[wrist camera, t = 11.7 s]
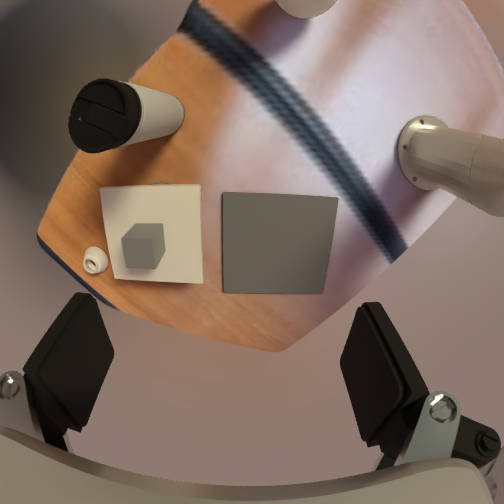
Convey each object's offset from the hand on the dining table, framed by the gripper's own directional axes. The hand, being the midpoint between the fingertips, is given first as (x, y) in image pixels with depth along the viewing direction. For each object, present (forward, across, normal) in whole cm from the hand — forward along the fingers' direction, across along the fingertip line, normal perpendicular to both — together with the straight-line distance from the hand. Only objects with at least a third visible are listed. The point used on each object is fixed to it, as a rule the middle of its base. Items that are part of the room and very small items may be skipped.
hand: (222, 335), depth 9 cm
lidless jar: (+33, +26, +15) cm, 44 cm away
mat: (+32, -6, +12) cm, 35 cm away
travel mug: (+32, +11, -8) cm, 35 cm away
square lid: (+27, +12, +8) cm, 30 cm away
